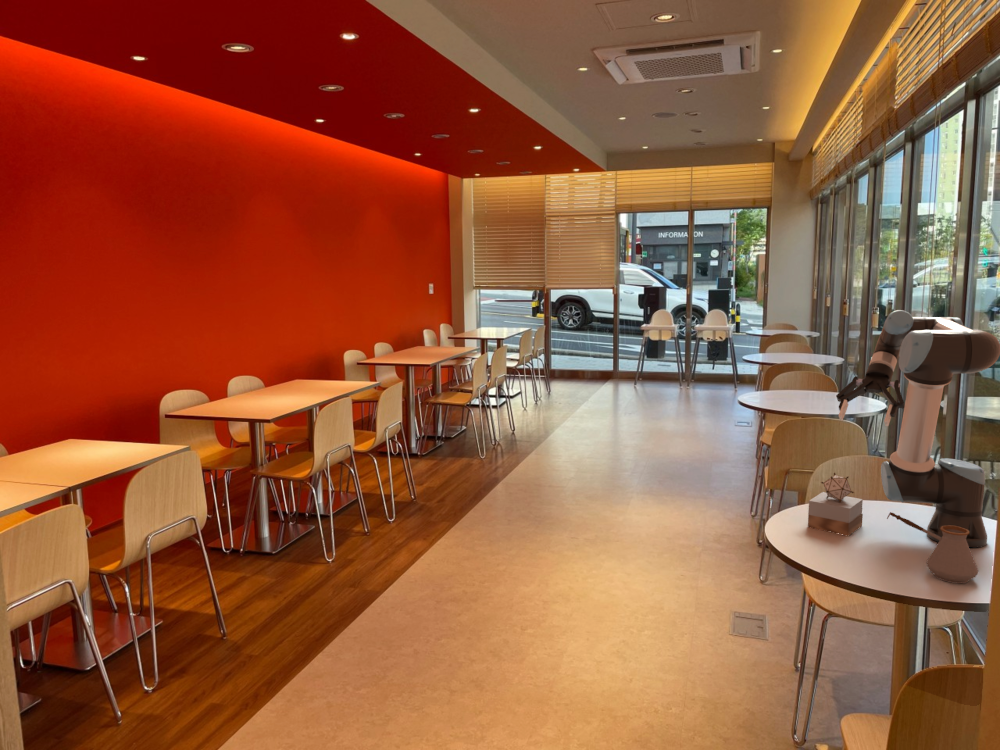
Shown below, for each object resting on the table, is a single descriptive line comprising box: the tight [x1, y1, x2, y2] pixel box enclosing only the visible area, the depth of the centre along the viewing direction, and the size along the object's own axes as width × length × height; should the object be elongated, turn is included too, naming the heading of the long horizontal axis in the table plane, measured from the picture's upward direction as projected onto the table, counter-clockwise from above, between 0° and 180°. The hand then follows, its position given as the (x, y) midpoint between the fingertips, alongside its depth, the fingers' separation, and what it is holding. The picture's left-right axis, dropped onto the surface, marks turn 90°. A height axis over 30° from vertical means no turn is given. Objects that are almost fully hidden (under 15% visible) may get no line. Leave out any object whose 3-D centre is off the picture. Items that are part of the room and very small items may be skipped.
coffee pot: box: [886, 511, 979, 584], centre depth 194 cm, size 21×12×15 cm, turn 58°
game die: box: [820, 472, 855, 503], centre depth 229 cm, size 9×8×10 cm
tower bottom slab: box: [807, 513, 864, 537], centre depth 231 cm, size 12×12×4 cm
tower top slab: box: [807, 491, 864, 523], centre depth 230 cm, size 12×12×4 cm
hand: (862, 421), depth 234 cm, fingers open, 13 cm apart
